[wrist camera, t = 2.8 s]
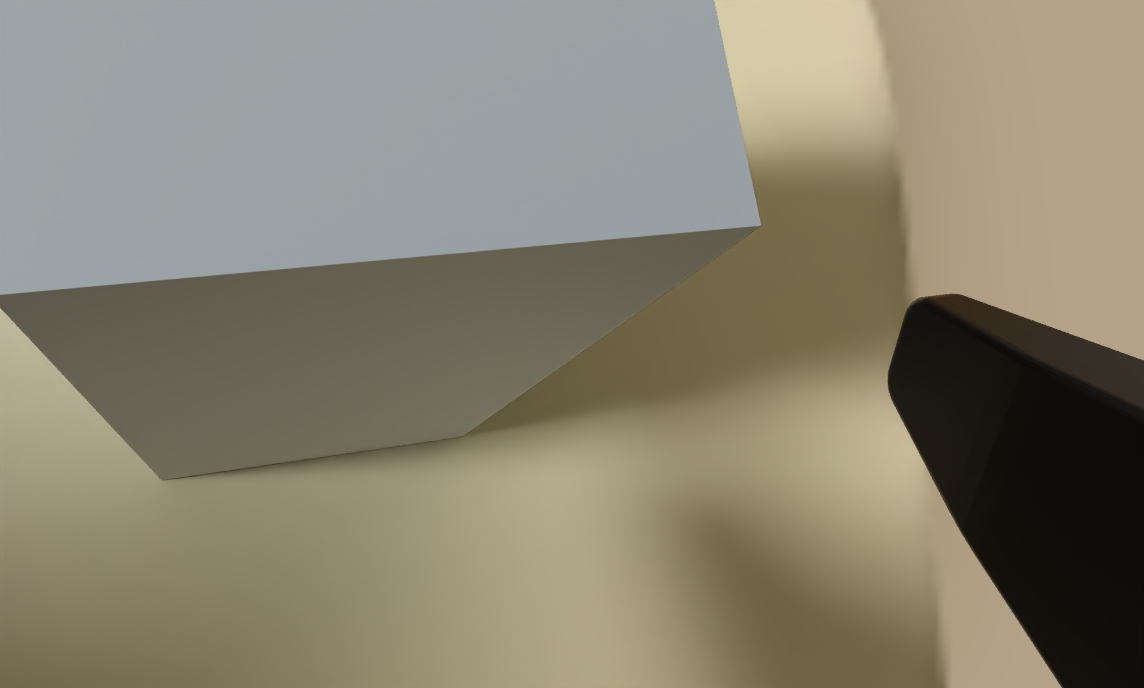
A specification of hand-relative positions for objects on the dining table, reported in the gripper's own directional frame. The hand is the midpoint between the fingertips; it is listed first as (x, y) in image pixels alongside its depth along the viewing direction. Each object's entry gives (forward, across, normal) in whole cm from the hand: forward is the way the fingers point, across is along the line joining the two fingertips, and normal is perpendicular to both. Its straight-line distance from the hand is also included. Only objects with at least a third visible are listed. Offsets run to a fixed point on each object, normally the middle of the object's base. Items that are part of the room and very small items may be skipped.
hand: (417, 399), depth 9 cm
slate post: (+10, 0, +5) cm, 11 cm away
